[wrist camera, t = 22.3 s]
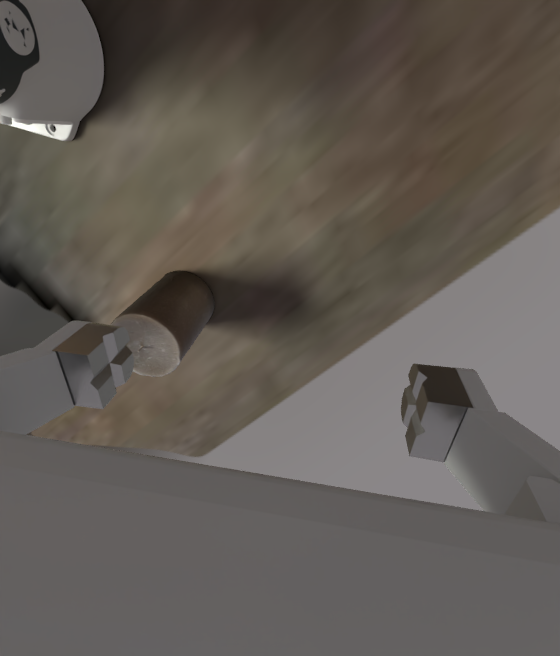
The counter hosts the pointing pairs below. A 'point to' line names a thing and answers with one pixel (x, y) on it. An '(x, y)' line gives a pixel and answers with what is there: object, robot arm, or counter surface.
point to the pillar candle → (166, 322)
